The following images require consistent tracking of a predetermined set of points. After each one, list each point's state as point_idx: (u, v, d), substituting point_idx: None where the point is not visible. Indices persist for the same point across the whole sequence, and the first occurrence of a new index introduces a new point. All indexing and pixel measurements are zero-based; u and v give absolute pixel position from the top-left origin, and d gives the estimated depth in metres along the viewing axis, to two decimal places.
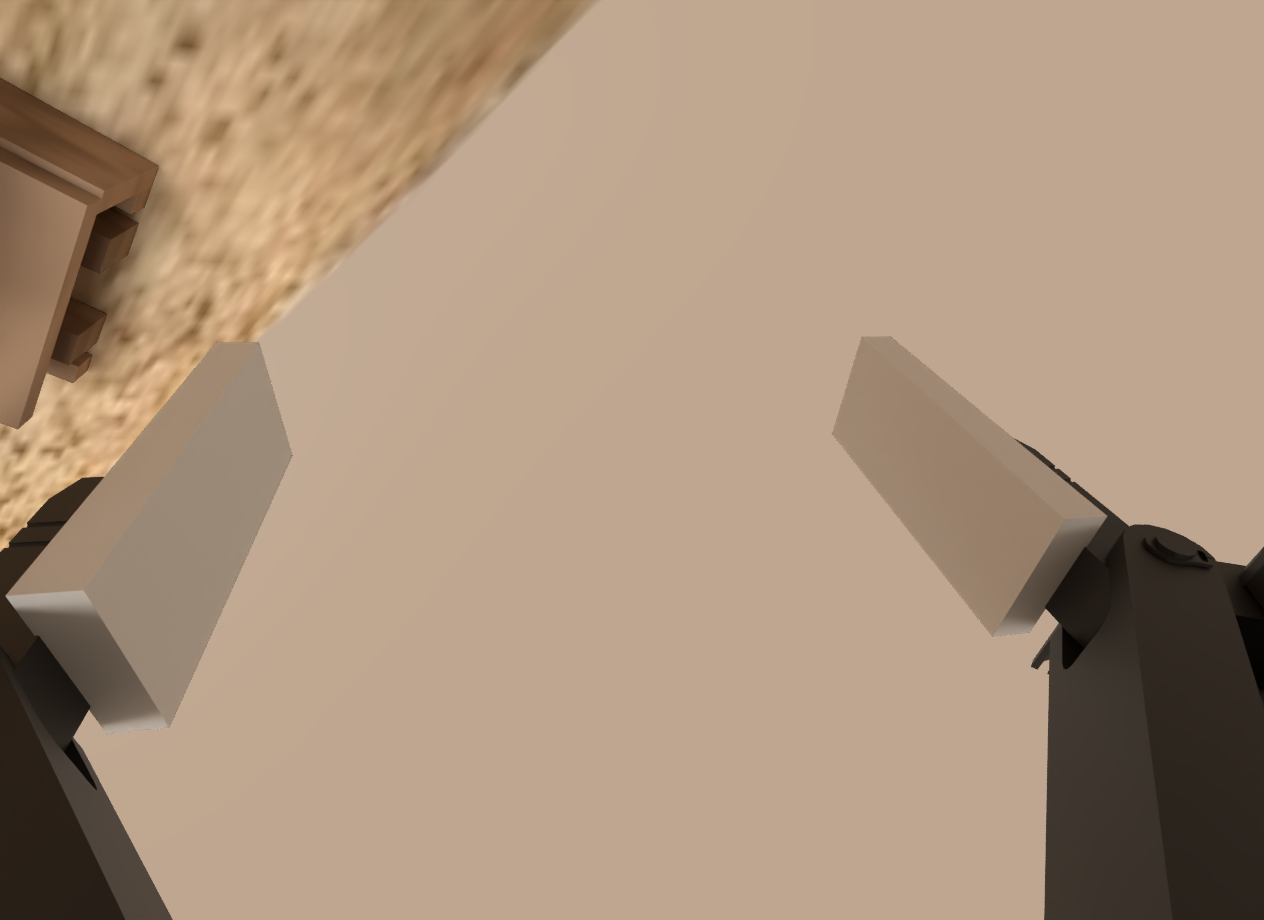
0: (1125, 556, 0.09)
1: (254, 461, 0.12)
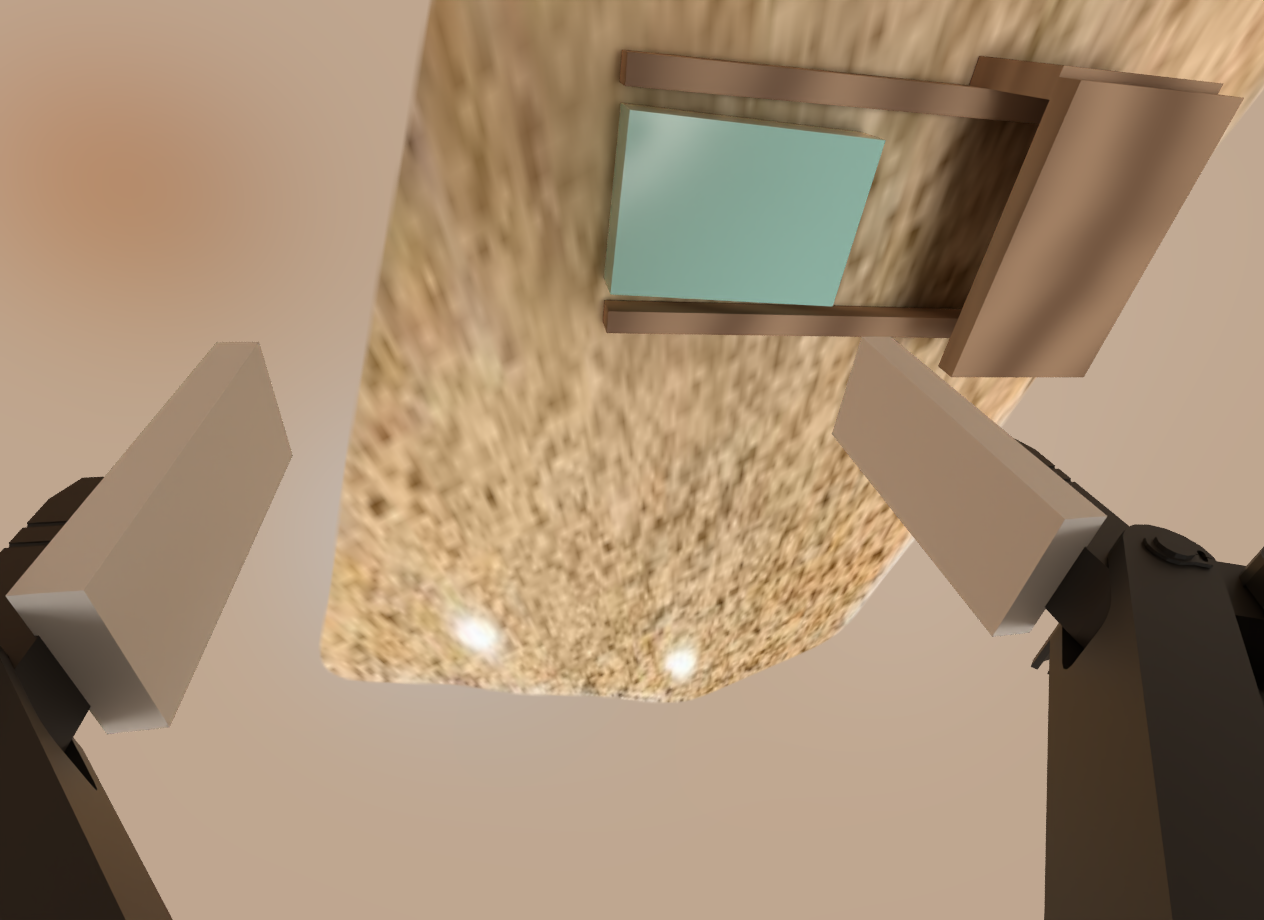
0: (1125, 556, 0.09)
1: (254, 461, 0.12)
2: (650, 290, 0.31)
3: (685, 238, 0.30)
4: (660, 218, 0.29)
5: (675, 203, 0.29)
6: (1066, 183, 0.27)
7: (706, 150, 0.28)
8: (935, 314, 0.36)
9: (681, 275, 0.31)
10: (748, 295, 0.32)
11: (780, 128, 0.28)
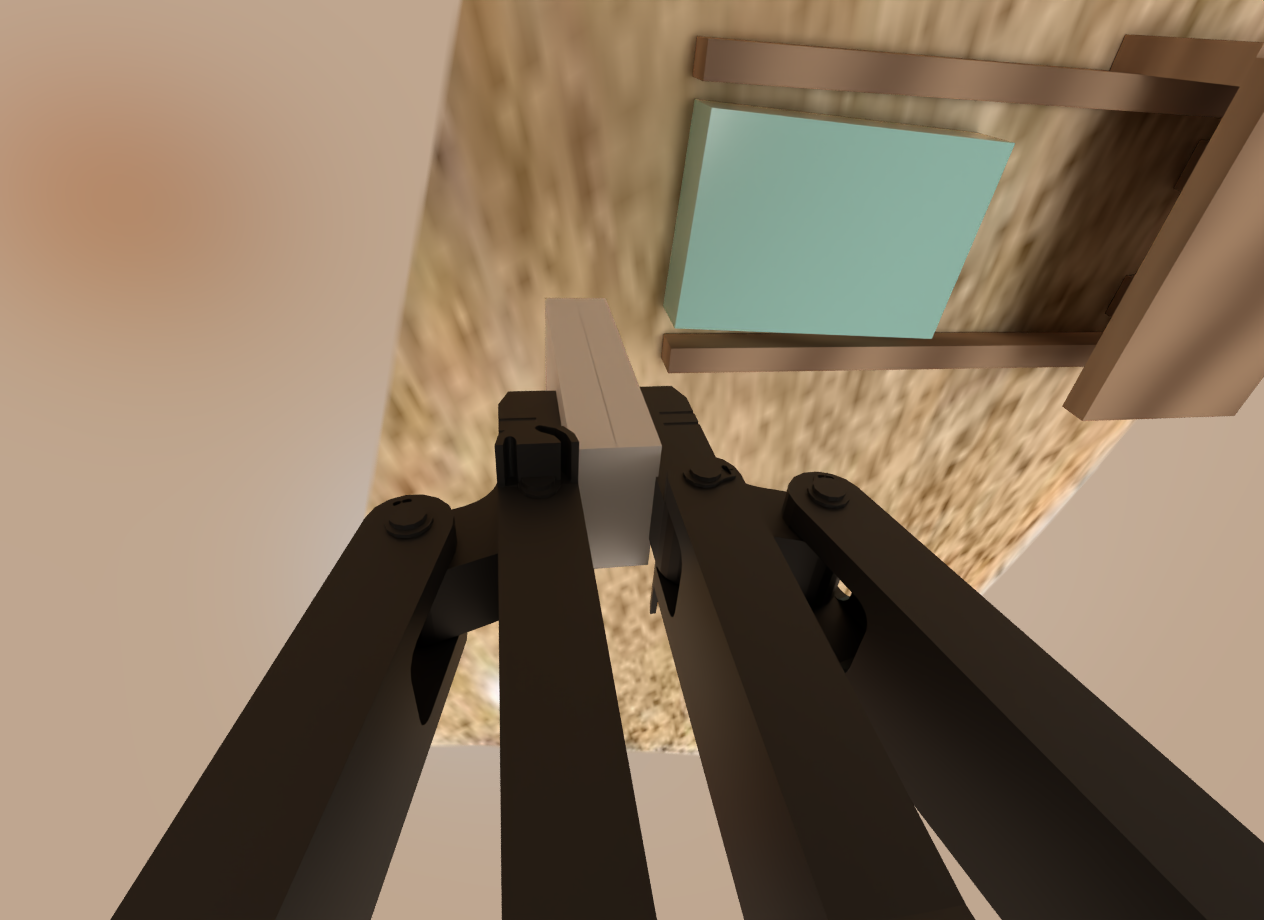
0: (675, 498, 0.09)
1: None
2: (722, 323, 0.26)
3: (768, 262, 0.25)
4: (740, 239, 0.24)
5: (759, 221, 0.24)
6: (1253, 190, 0.21)
7: (801, 157, 0.22)
8: (1045, 340, 0.31)
9: (759, 305, 0.26)
10: (835, 327, 0.27)
11: (891, 129, 0.22)
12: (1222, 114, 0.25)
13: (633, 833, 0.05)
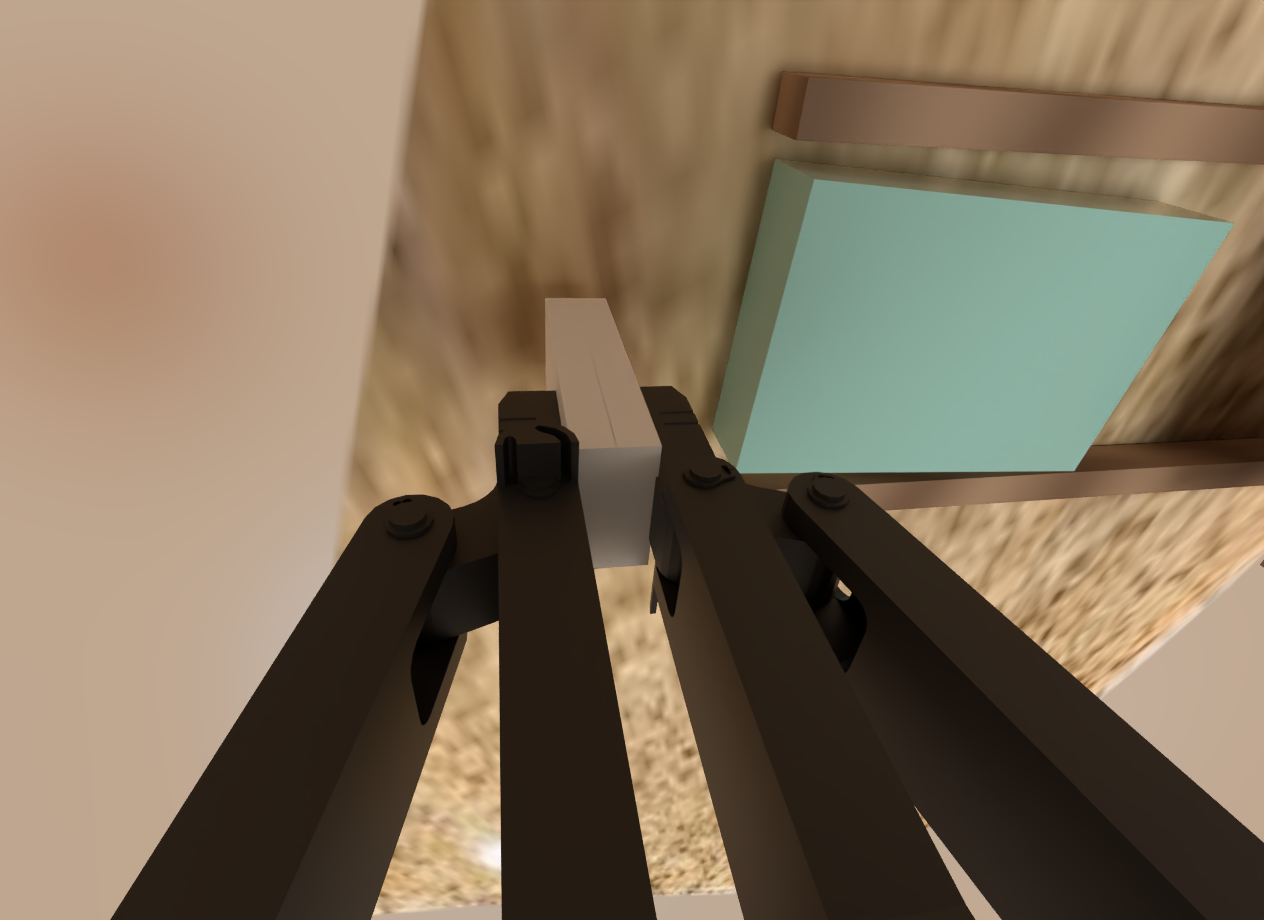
0: (675, 498, 0.09)
1: None
2: (800, 464, 0.18)
3: (872, 386, 0.17)
4: (837, 358, 0.16)
5: (866, 334, 0.16)
6: None
7: (936, 246, 0.15)
8: (1207, 455, 0.24)
9: (853, 440, 0.18)
10: (952, 463, 0.20)
11: (1069, 207, 0.15)
12: None
13: (633, 833, 0.05)
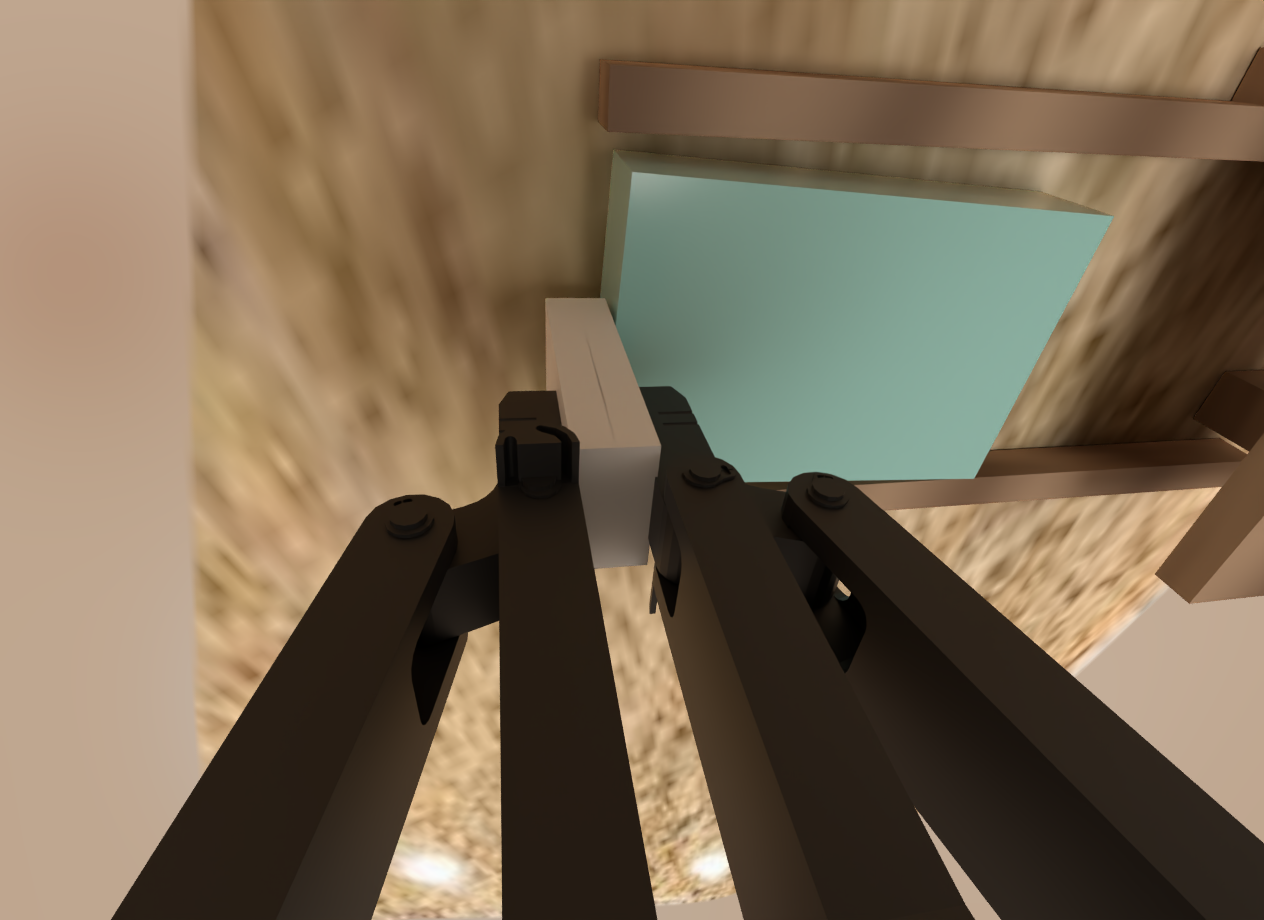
0: (675, 498, 0.09)
1: None
2: None
3: (735, 392, 0.16)
4: (690, 363, 0.15)
5: (719, 337, 0.15)
6: None
7: (782, 244, 0.14)
8: (1116, 459, 0.23)
9: (724, 449, 0.17)
10: (837, 471, 0.19)
11: (925, 200, 0.14)
12: None
13: (634, 833, 0.05)
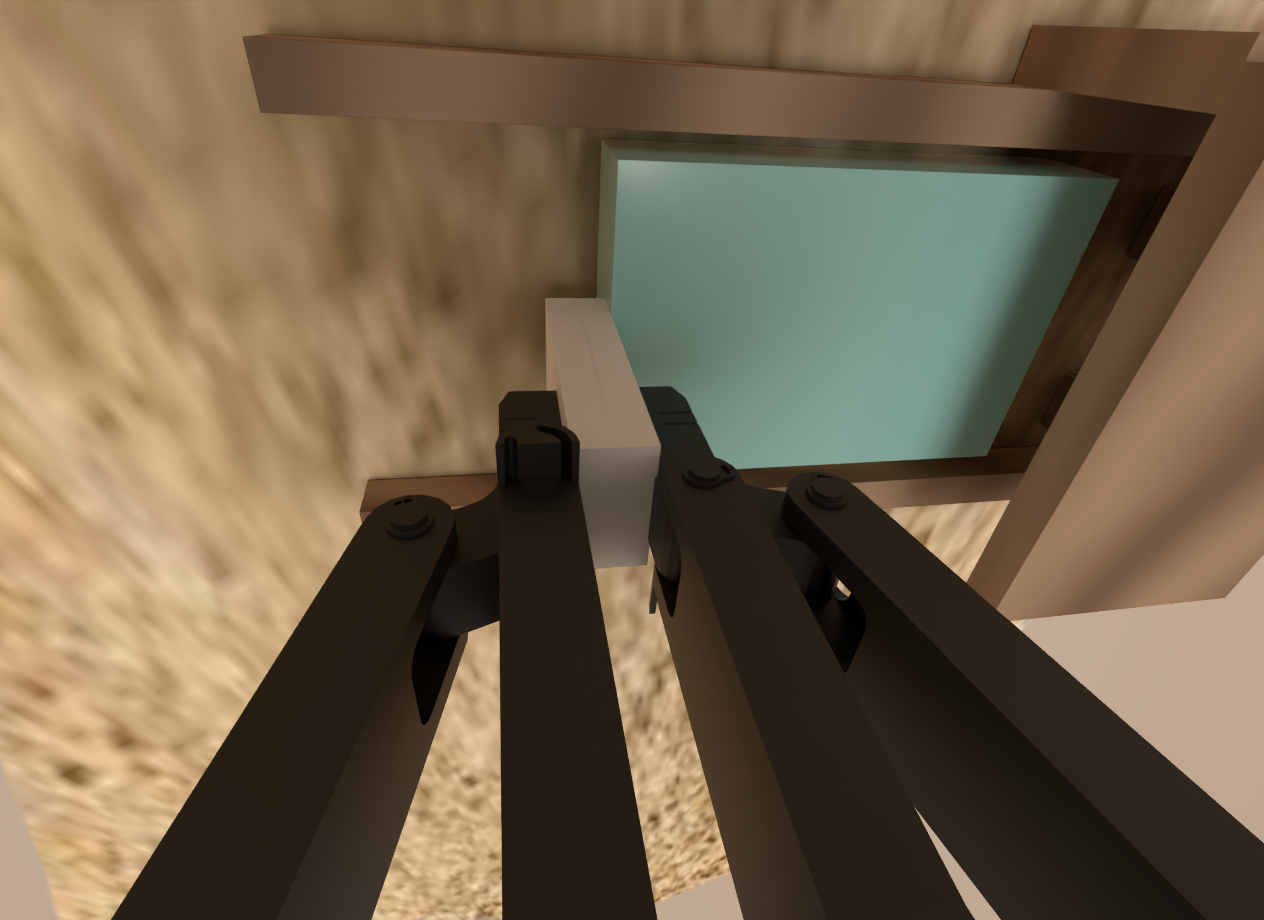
0: (675, 498, 0.09)
1: None
2: None
3: (736, 378, 0.16)
4: (689, 350, 0.15)
5: (716, 322, 0.15)
6: (1245, 296, 0.12)
7: (775, 225, 0.14)
8: (953, 467, 0.22)
9: (727, 436, 0.17)
10: (845, 454, 0.18)
11: (921, 172, 0.14)
12: (1194, 150, 0.16)
13: (633, 833, 0.05)
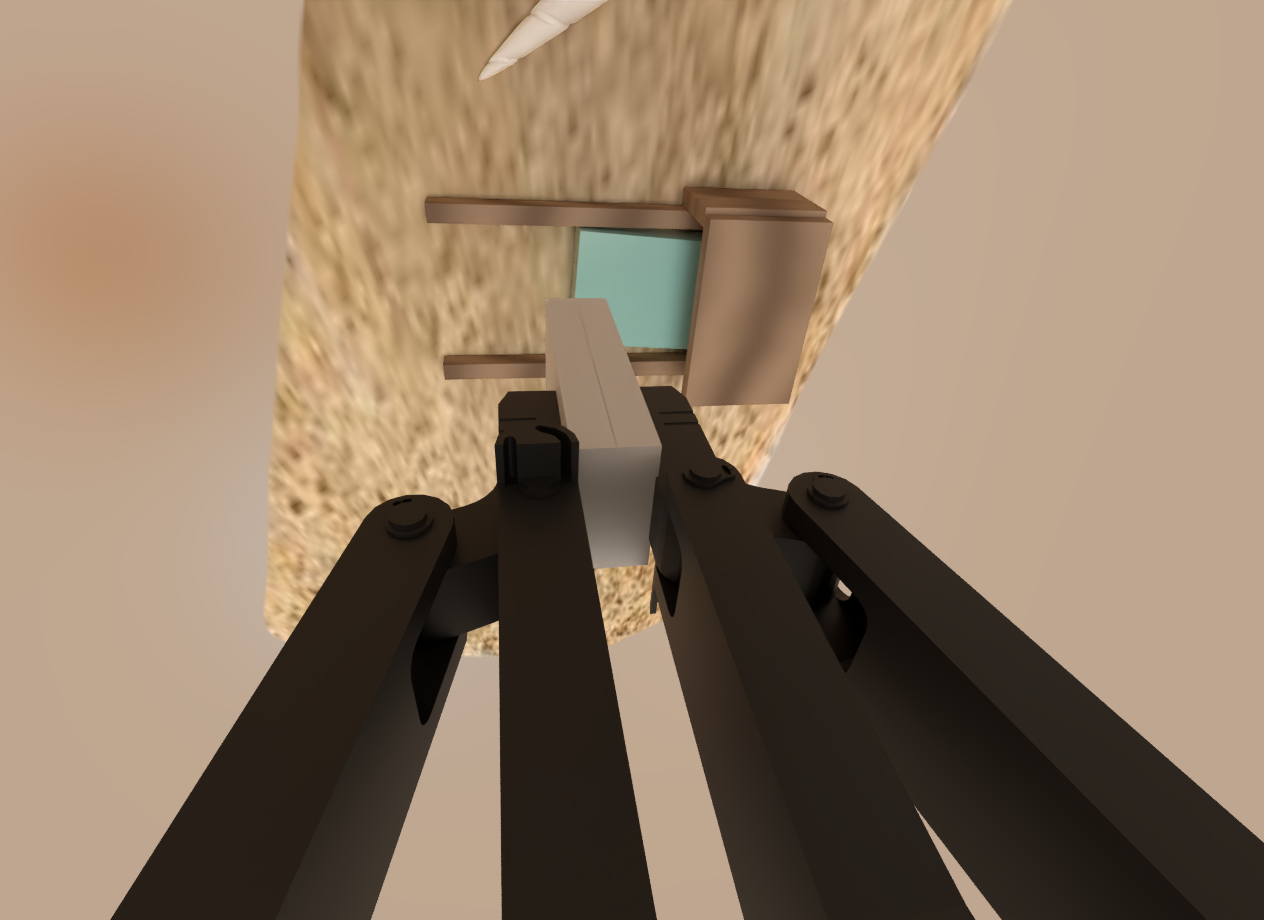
0: (675, 498, 0.09)
1: None
2: None
3: (621, 307, 0.44)
4: (603, 295, 0.44)
5: (613, 286, 0.43)
6: (724, 279, 0.40)
7: (632, 253, 0.42)
8: None
9: (619, 331, 0.45)
10: (666, 344, 0.47)
11: (680, 240, 0.42)
12: None
13: (633, 833, 0.05)
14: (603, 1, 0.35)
